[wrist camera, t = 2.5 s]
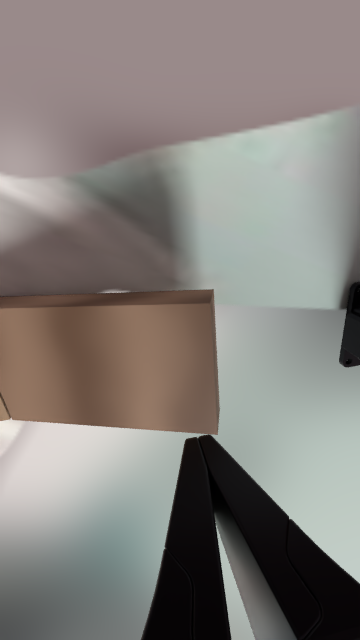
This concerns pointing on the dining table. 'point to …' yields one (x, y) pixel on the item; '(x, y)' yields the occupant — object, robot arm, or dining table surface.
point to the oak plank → (3, 410)
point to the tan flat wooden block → (112, 360)
